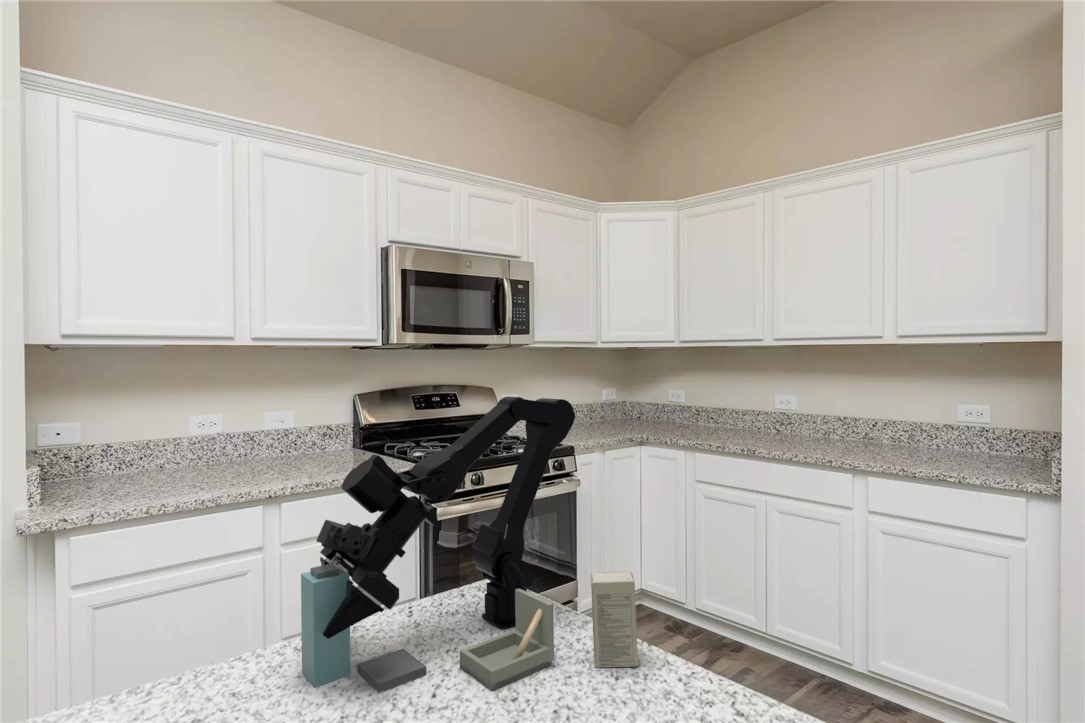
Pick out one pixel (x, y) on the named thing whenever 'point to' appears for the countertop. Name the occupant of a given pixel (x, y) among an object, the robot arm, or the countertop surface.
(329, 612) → the module
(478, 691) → the countertop surface
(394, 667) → the foam pad
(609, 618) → the skincare box
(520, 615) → the case
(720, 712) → the countertop surface
